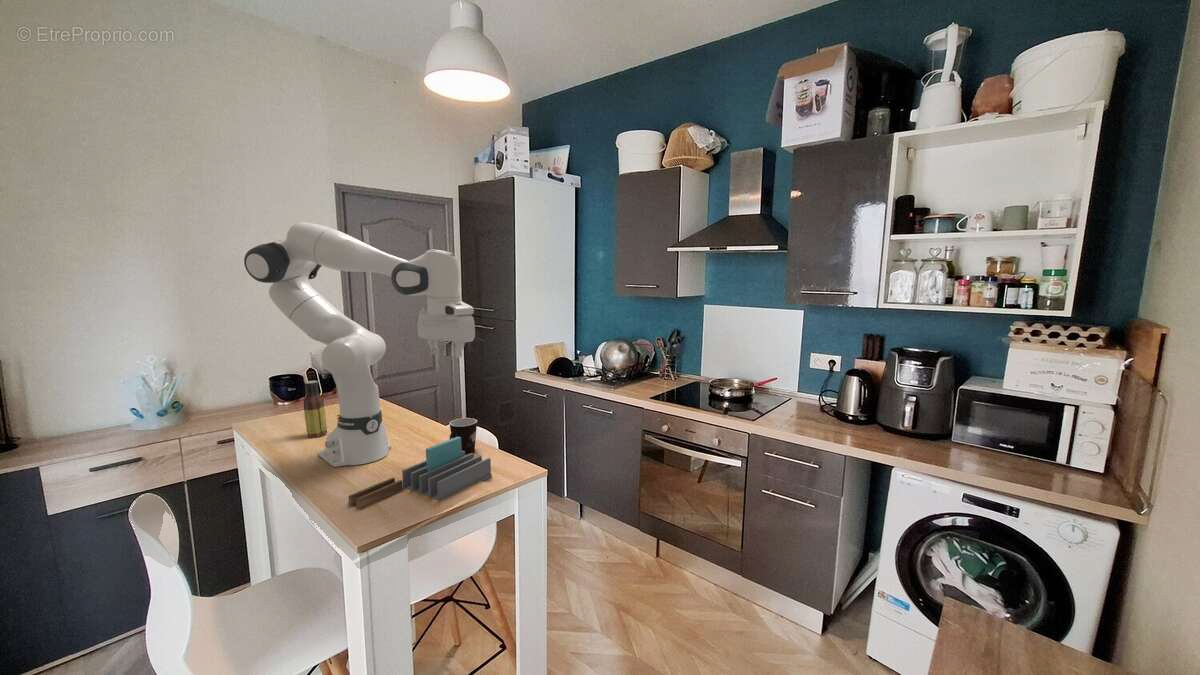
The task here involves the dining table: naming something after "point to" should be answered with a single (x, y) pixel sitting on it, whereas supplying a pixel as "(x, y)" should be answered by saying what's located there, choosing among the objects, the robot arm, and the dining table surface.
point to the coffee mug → (464, 433)
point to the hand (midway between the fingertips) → (446, 355)
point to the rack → (447, 476)
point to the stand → (375, 493)
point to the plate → (443, 453)
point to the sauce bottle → (314, 410)
